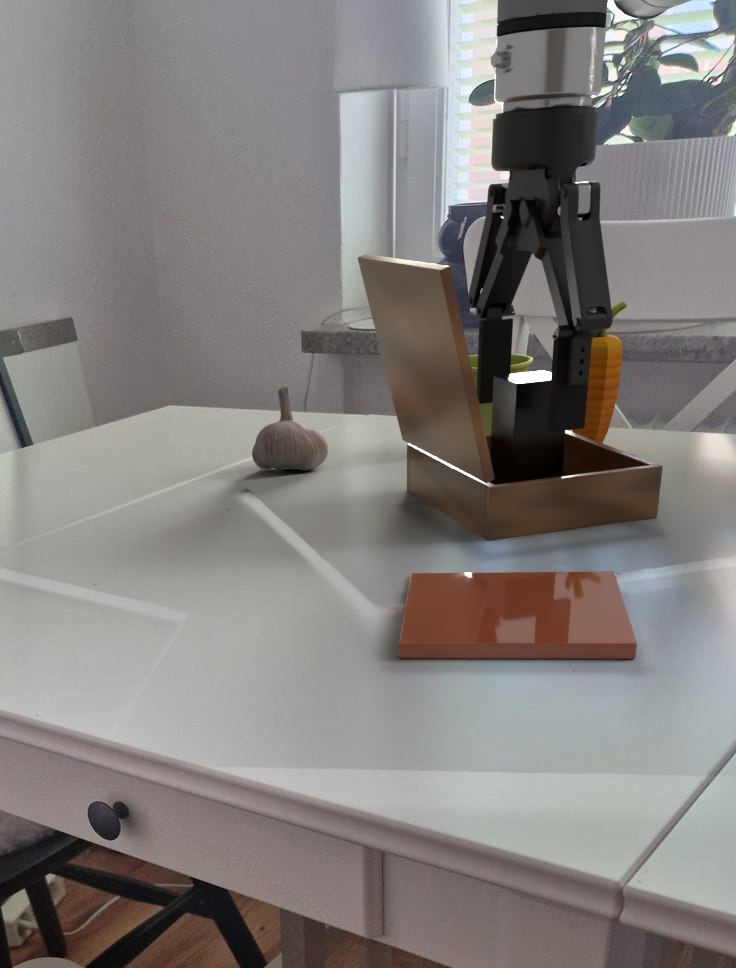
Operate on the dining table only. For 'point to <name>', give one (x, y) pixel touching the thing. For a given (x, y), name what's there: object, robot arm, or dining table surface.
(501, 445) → the black block
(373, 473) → the dining table surface
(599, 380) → the carrot
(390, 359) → the lid
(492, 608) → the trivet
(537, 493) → the wooden box
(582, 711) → the dining table surface
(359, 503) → the dining table surface
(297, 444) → the garlic bulb
